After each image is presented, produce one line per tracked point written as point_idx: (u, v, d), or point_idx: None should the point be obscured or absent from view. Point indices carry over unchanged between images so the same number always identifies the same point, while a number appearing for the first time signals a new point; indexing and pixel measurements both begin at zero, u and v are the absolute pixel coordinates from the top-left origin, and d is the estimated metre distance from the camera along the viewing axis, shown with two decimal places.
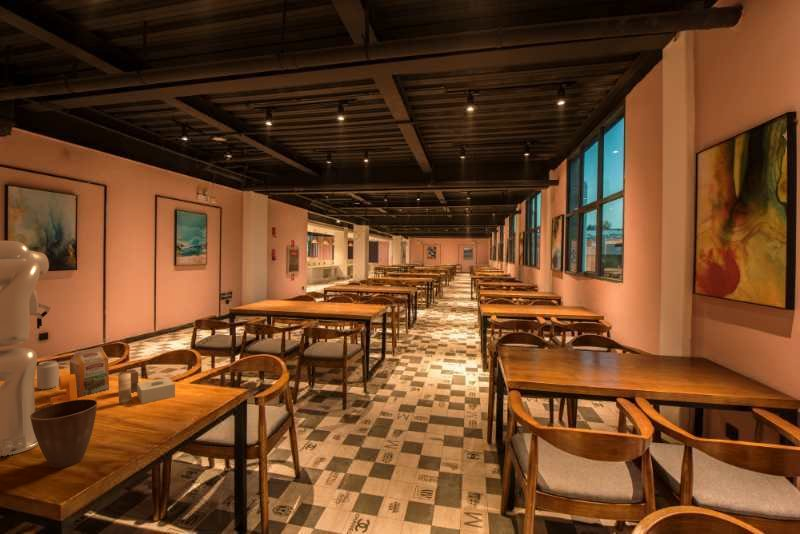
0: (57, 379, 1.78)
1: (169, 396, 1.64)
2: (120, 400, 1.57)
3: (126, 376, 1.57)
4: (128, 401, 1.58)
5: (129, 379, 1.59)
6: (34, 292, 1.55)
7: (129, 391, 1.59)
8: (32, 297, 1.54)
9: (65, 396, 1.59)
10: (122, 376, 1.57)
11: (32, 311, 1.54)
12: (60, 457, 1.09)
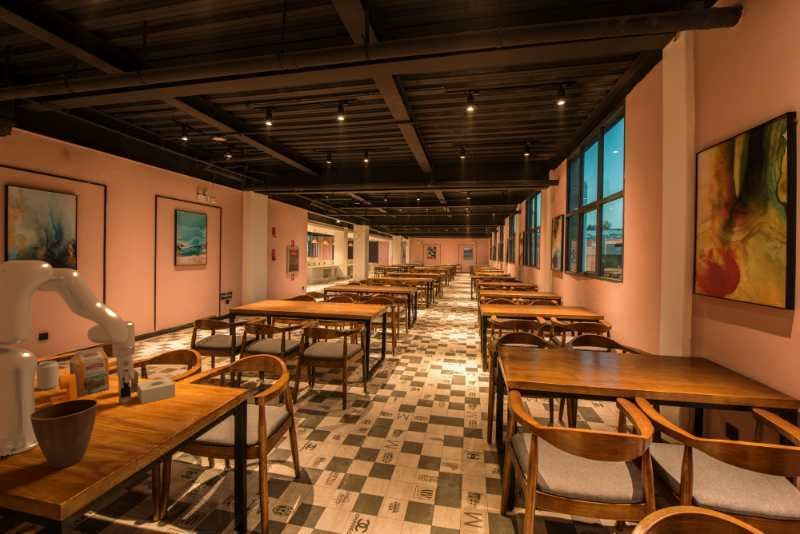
0: (57, 379, 1.78)
1: (169, 396, 1.64)
2: (120, 400, 1.57)
3: None
4: (128, 401, 1.58)
5: None
6: None
7: None
8: None
9: (65, 396, 1.59)
10: None
11: None
12: (60, 457, 1.09)
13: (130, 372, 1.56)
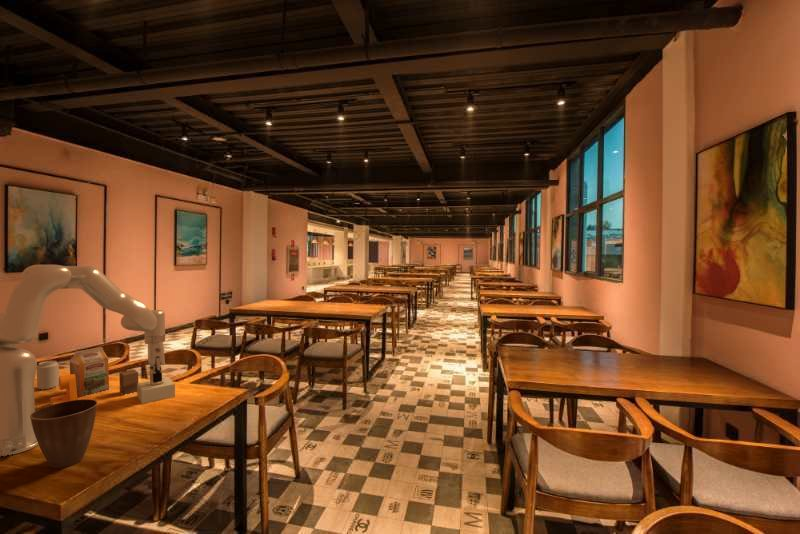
0: (57, 379, 1.78)
1: (169, 396, 1.64)
2: None
3: None
4: None
5: None
6: None
7: None
8: None
9: (65, 396, 1.59)
10: None
11: None
12: (60, 457, 1.09)
13: (161, 358, 1.63)
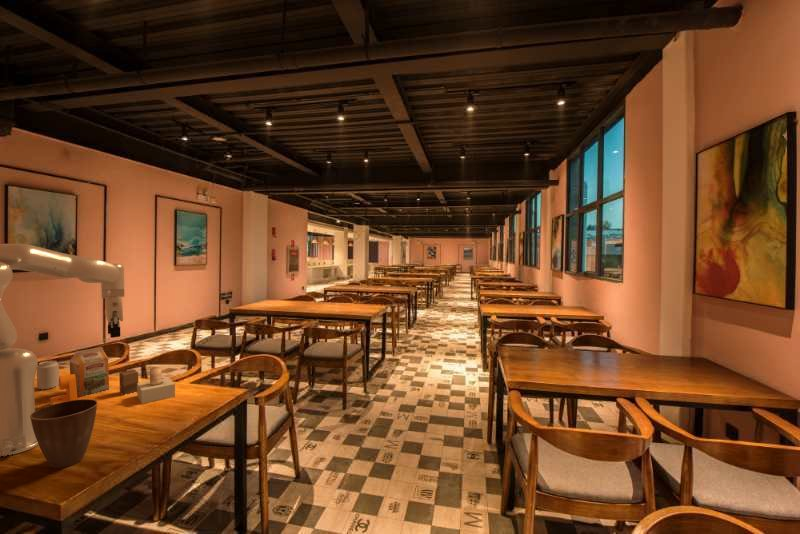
0: (57, 379, 1.78)
1: (169, 396, 1.64)
2: None
3: (157, 371, 1.65)
4: None
5: (160, 374, 1.66)
6: None
7: None
8: None
9: (65, 396, 1.59)
10: (154, 371, 1.64)
11: None
12: (60, 457, 1.09)
13: (119, 314, 1.54)
